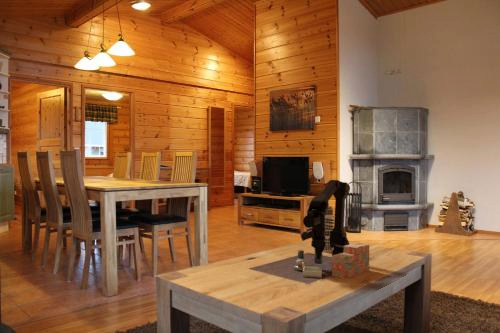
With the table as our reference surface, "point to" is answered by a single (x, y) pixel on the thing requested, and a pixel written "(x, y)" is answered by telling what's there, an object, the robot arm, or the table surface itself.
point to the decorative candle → (328, 228)
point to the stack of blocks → (351, 260)
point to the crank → (300, 258)
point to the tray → (312, 272)
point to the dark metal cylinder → (317, 260)
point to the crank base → (299, 267)
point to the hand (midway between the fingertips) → (318, 258)
